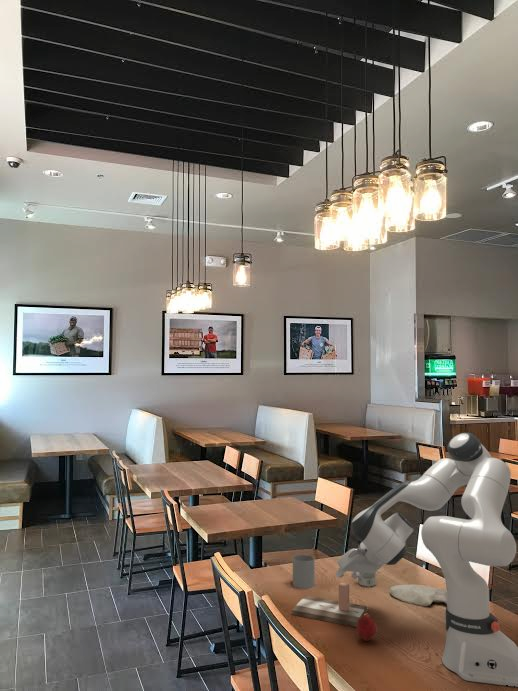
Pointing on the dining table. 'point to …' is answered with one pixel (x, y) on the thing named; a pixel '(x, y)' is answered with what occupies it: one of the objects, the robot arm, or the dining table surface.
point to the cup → (303, 571)
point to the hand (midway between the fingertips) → (345, 576)
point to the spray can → (367, 576)
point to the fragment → (419, 594)
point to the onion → (366, 627)
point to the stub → (344, 596)
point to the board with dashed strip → (329, 611)
